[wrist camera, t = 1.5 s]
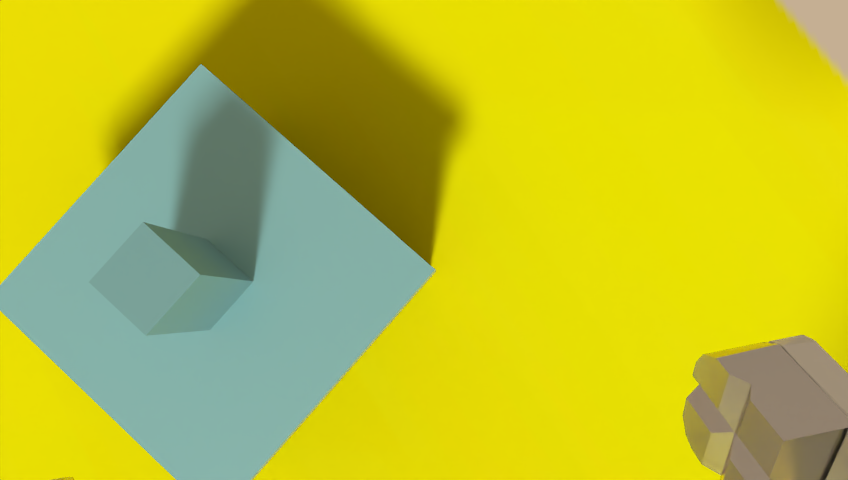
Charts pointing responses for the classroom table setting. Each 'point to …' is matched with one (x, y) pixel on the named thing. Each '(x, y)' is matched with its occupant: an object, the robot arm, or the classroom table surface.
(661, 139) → the classroom table surface
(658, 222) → the classroom table surface
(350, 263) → the lid
